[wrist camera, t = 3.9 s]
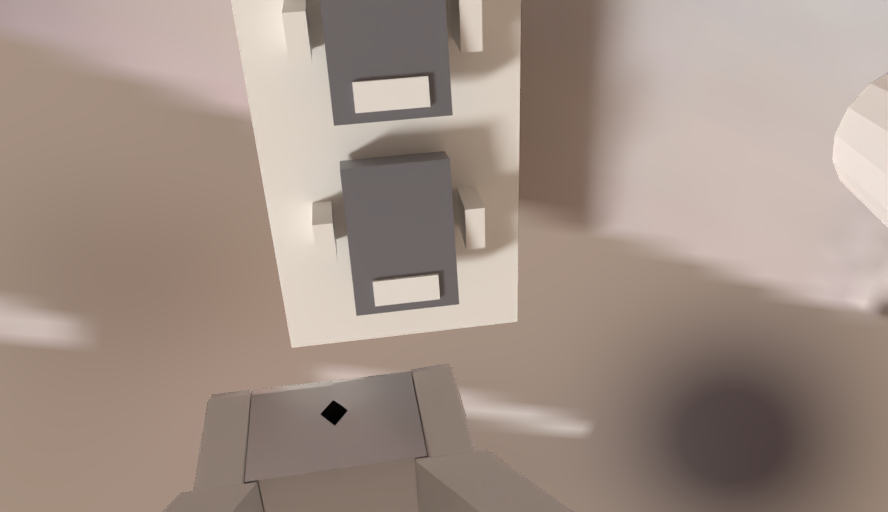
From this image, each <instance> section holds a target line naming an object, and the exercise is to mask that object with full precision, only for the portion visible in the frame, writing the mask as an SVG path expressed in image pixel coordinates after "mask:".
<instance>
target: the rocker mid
mask: <svg viewBox="0 0 888 512" xmlns="http://www.w3.org/2000/svg"><path fill="white" fill-rule="evenodd" d="M320 7H321V16H322V25H323V34H324V43H325V51H326V60H327V69H328V78H329V87H330V96H331V104H332V113H333V122H334V126H337V125H348V124H360V123H371V122H382V121H394V120H405V119H417V118H428V117H439V116H451V115H453V113H452V97H451V81H450V65H449V49H448V34H447V18H446V2H445V0H320Z"/></svg>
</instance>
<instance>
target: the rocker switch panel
mask: <svg viewBox="0 0 888 512" xmlns="http://www.w3.org/2000/svg"><path fill="white" fill-rule="evenodd" d="M445 2H446V18H447V34H448V49H449V65H450V81H451V97H452V113H453V115H451V116H439V117H428V118H417V119H405V120H394V121H382V122H371V123H360V124H348V125H337V126H334V122H333V113H332V104H331V96H330V87H329V78H328V69H327V60H326V51H325V43H324V34H323V25H322V16H321V7H320V0H231V4H232V9H233V15H234V21H235V26H236V32H237V38H238V44H239V49H240V55H241V61H242V66H243V72H244V78H245V84H246V89H247V95H248V101H249V106H250V112H251V118H252V124H253V129H254V135H255V141H256V146H257V152H258V158H259V164H260V169H261V175H262V180H263V187H264V192H265V198H266V204H267V209H268V215H269V221H270V226H271V232H272V238H273V243H274V249H275V255H276V261H277V267H278V272H279V278H280V283H281V289H282V295H283V300H284V307H285V312H286V318H287V324H288V329H289V335H290V341H291V346H292V348H293V347H302V346H311V345H318V344H328V343H337V342H345V341H354V340H362V339H371V338H380V337H388V336H396V335H405V334H414V333H423V332H431V331H440V330H449V329H457V328H465V327H475V326H483V325H492V324H500V323H509V322H517V304H518V303H517V302H518V297H517V296H518V219H519V133H520V48H521V0H445ZM441 151H445V153H446V154H447V156H448V157H449V159H450V171H451V186H452V201H453V217H454V232H455V247H456V262H457V277H458V293H459V304H458V305H449V306H440V307H431V308H422V309H413V310H404V311H395V312H387V313H378V314H369V315H360V316H356V308H355V299H354V290H353V281H352V273H351V264H350V255H349V246H348V237H347V228H346V219H345V211H344V202H343V193H342V184H341V175H340V161H344V160H355V159H365V158H376V157H387V156H398V155H409V154H419V153H430V152H441Z"/></svg>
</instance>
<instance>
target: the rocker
mask: <svg viewBox="0 0 888 512" xmlns="http://www.w3.org/2000/svg"><path fill="white" fill-rule="evenodd" d="M340 175H341V184H342V193H343V202H344V211H345V219H346V228H347V237H348V246H349V255H350V264H351V273H352V281H353V290H354V299H355V308H356V316H360V315H369V314H378V313H387V312H395V311H404V310H413V309H422V308H431V307H440V306H449V305H458V304H459V293H458V277H457V262H456V247H455V232H454V217H453V201H452V186H451V171H450V159H449V157H448V156H447V154H446V153H445V151H441V152H430V153H419V154H409V155H398V156H387V157H376V158H365V159H355V160H344V161H340Z"/></svg>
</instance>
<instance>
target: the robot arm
mask: <svg viewBox="0 0 888 512" xmlns="http://www.w3.org/2000/svg"><path fill="white" fill-rule="evenodd" d="M163 512H574V511H572V510H571V509H570V508H568V507H567V506H566V505H564V504H563V503H561V502H560V501H558V500H557V499H556V498H554V497H553V496H551V495H550V494H549V493H547V492H546V491H545V490H543V489H542V488H541V487H539V486H538V485H536V484H535V483H534V482H532V481H531V480H529V479H528V478H526V477H525V476H524V475H523V474H521V473H520V472H518V471H517V470H516V469H514V468H513V467H511V466H510V465H509V464H507V463H506V462H504V461H503V460H502V459H500V458H499V457H497V456H496V455H494V454H493V453H492V452H491V451H489V450H488V449H485V450H478V451H476V450H475V446H474V443H473V439H472V435H471V432H470V428H469V425H468V421H467V418H466V414H465V411H464V407H463V403H462V400H461V396H460V393H459V389H458V386H457V382H456V379H455V375H454V371H453V368H452V367H451V366H450V365H449V364H444V365H437V366H430V367H424V368H418V369H411V371H406V372H398V373H391V374H383V375H376V376H368V377H361V378H353V379H346V380H338V381H326V382H316V383H307V384H298V385H289V386H280V387H270V388H260V389H254V390H253V391H252V390H245V391H237V392H229V393H220V394H212V396H211V397H210V399H209V400H208V402H207V408H206V413H205V420H204V426H203V432H202V439H201V445H200V451H199V458H198V464H197V470H196V476H195V483H194V489H193V491H190V492H183V493H180V494H179V495H178V496H177V497H176V498H175V499H174V500H173V501H172V502H171V503H170V504H169V505H168V506H167V508H166V509H165V510H164V511H163Z"/></svg>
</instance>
